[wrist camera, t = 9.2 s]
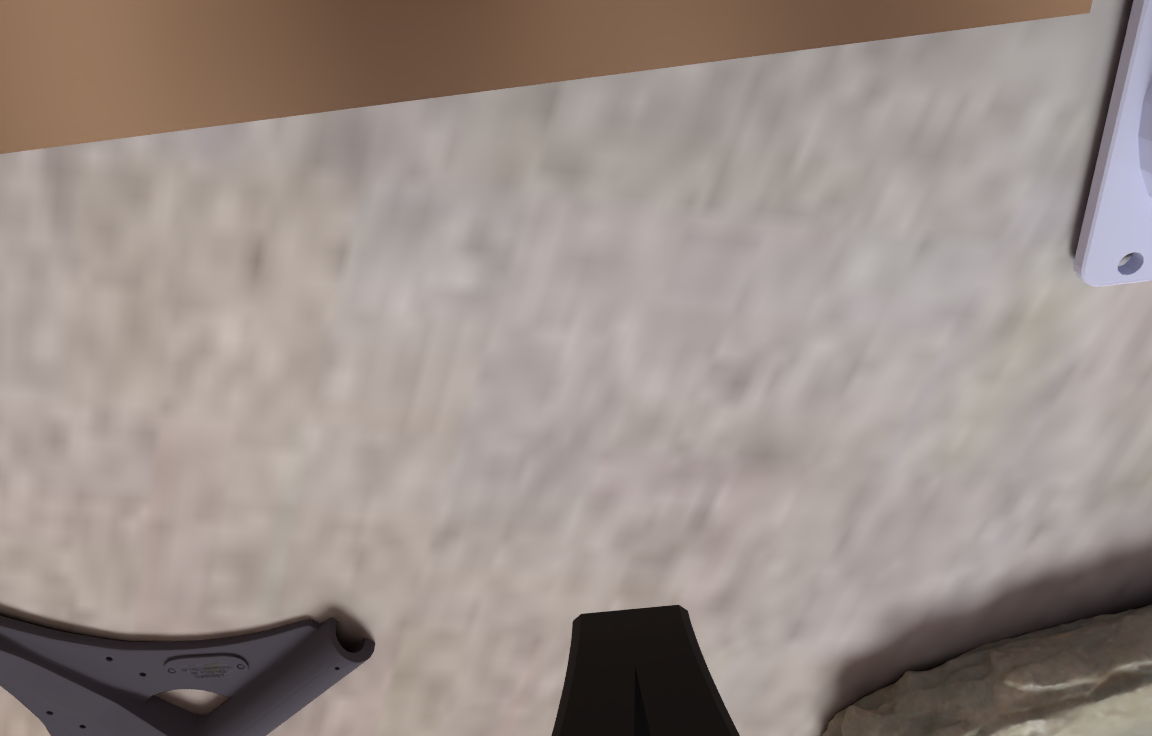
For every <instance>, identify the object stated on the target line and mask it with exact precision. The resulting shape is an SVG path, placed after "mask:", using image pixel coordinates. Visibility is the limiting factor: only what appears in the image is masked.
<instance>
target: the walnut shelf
mask: <svg viewBox="0 0 1152 736" xmlns="http://www.w3.org/2000/svg"><path fill="white" fill-rule="evenodd" d="M1091 4H1092V0H0V154H3V153H10V152H18V151H26V150H34V149H41V148H49V147H57V146H64V145H72V144H80V143H88V142H95V141H103V140H111V139H118V138H126V137H134V136H142V135H149V134H157V133H165V132H173V131H180V130H188V129H196V128H203V127H211V126H219V125H227V124H234V123H242V122H250V121H257V120H265V119H273V118H281V117H288V116H296V115H304V114H311V113H319V112H327V111H335V110H342V109H350V108H358V107H365V106H373V105H381V104H389V103H396V102H404V101H412V100H420V99H427V98H435V97H443V96H450V95H458V94H466V93H474V92H481V91H489V90H497V89H504V88H512V87H520V86H528V85H535V84H543V83H551V82H558V81H566V80H574V79H582V78H589V77H597V76H605V75H612V74H620V73H628V72H636V71H643V70H651V69H659V68H667V67H674V66H682V65H690V64H697V63H705V62H713V61H721V60H728V59H736V58H744V57H751V56H759V55H767V54H775V53H782V52H790V51H798V50H805V49H813V48H821V47H829V46H836V45H844V44H852V43H859V42H867V41H875V40H883V39H890V38H898V37H906V36H914V35H921V34H929V33H937V32H944V31H952V30H960V29H968V28H975V27H983V26H991V25H998V24H1006V23H1014V22H1022V21H1029V20H1037V19H1045V18H1052V17H1060V16H1068V15H1076V14H1083V13H1090V9H1091Z"/></svg>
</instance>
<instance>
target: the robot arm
mask: <svg viewBox="0 0 1152 736" xmlns="http://www.w3.org/2000/svg"><path fill="white" fill-rule="evenodd" d="M1130 253H1132V256H1131V258H1130V260H1129V261H1128V262H1126V263H1125V264H1124V265H1122V266H1119V267H1118V264H1119V262H1120V260H1121V259H1122V258H1123V257H1125V256H1126V255H1127V254H1130ZM1074 271H1075V273H1076V275H1077V276H1078V277H1079V278H1080V279H1081V280H1083V281H1084V282H1085V283H1087V284H1089V285H1091V286H1099V287H1101V286H1109V285H1118V284H1126V283H1135V282H1144V281H1152V0H1133V5H1132V9H1131V14H1130V18H1129V22H1128V27H1127V31H1126V36H1125V40H1124V44H1123V49H1122V53H1121V58H1120V62H1119V66H1118V71H1117V75H1116V79H1115V84H1114V88H1113V93H1112V97H1111V101H1110V106H1109V110H1108V115H1107V119H1106V123H1105V128H1104V132H1103V137H1102V141H1101V145H1100V150H1099V154H1098V159H1097V163H1096V167H1095V172H1094V176H1093V181H1092V185H1091V189H1090V194H1089V198H1088V202H1087V207H1086V211H1085V216H1084V220H1083V224H1082V229H1081V233H1080V238H1079V242H1078V246H1077V251H1076V255H1075V260H1074ZM552 736H740V735H739V733H738V731H737V729H736V727H735V725H734V723H733V721H732V719H731V717H730V715H729V713H728V711H727V709H726V707H725V705H724V703H723V701H722V698H721V696H720V694H719V692H718V690H717V688H716V685H715V683H714V681H713V679H712V677H711V674H710V672H709V670H708V667H707V665H706V662H705V660H704V658H703V655H702V653H701V650H700V647H699V645H698V642H697V639H696V636H695V633H694V631H693V628H692V624H691V621H690V618H689V614H688V611H687V610H686V609H684V608H683V607H681V606H680V605H672V606H661V607H650V608H640V609H629V610H619V611H608V612H597V613H587V614H581V615H579V616H578V617H577V618H576V619H575V620H574V621H573V627H572V639H571V647H570V654H569V660H568V666H567V672H566V677H565V682H564V687H563V691H562V696H561V700H560V704H559V709H558V713H557V717H556V721H555V725H554V729H553V732H552Z"/></svg>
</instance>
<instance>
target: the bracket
mask: <svg viewBox="0 0 1152 736" xmlns="http://www.w3.org/2000/svg"><path fill="white" fill-rule="evenodd" d="M337 623H338V622H337V621H336V620H335V619H334V618H332V617H331V618H330V619H328V620H327V621H326V622H324V623H323V624H319V623H317V622H316V621H314V620H311V619H308V620H304V621H300V622H297V623H293V624H290V625H286V626H282V627H279V628H275V629H271V630H267V631H262V632H258V633H253V634H248V635H242V636H236V637H229V638H221V639H211V640H198V641H176V642H126V641H118V640H111V639H105V638H98V637H92V636H85V635H78V634H73V633H68V632H63V631H58V630H53V629H49V628H45V627H41V626H37V625H33V624H29V623H25V622H22V621H18V620H14V619H11V618H7V617H3V616H0V686H2V687H3V688H4V689H5V690H7V691H8V692H9V693H10V694H12V695H13V696H14V697H15V698H16V699H18V700H19V701H20V702H21V703H22V704H23V705H24V706H25V707H27V708H28V709H29V710H30V711H31V712H32V713H33V714H34V715H36V716H37V717H38V718H39V719H40V720H41V721H42V723H43V724H44V725H45V727H46V728H47V730H48V732H49V733H50V735H51V736H266V735H267V734H269V733H270V732H271V731H273V730H274V729H275V728H277V727H278V726H279V725H281V724H282V723H283V722H285V721H286V720H287V719H289V718H290V717H291V716H293V715H294V714H295V713H297V712H298V711H299V710H301V709H302V708H303V707H305V706H306V705H307V704H309V703H310V702H311V701H313V700H314V699H315V698H317V697H318V696H319V695H321V694H322V693H323V692H325V691H326V690H327V689H329V688H330V687H331V686H333V685H334V684H335V683H337V682H338V681H339V680H341V679H342V678H343V677H345V676H346V675H347V674H349V673H350V672H351V671H353V670H354V669H355V668H357V667H358V666H360V665H361V664H362V663H364V662H365V661H366V660H368V659H369V658H370V657H371V655H372V653H373V652H374V647H375V642H373V641H371V640H369V639H366V638H364V639H362V640H361V641H360V642H358V643H357V644H356V645H354V646H353V647H352V648H350V649H349V650H348V651H346V650H345V649H343V648H342V647H341V645H340V644H339V642H338V640H337V637H336V633H335V628H336V625H337ZM176 689H197V690H205V691H209V692H214V693H217V694H221V695H224V696H227V697H230V698H229V699H228V700H226V701H225V702H224V703H223V704H221V705H220V706H219V707H217V708H216V709H215V710H213V711H212V712H210V713H209V714H207V715H204V716H201V715H197V714H195V713H192V712H189V711H187V710H185V709H182V708H180V707H178V706H176V705H173V704H171V703H169V702H167V701H165V700H163V699H161V698H159V697H157V696H155V694H158V693H161V692H165V691H169V690H176Z"/></svg>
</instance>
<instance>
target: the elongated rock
mask: <svg viewBox="0 0 1152 736" xmlns="http://www.w3.org/2000/svg"><path fill="white" fill-rule="evenodd" d="M823 736H1152V605H1148V606H1144V607H1141V608H1138V609H1129V610H1127V611H1124V612H1120V613H1117V614H1102V615H1098V616H1095V617H1092V618H1089V619H1080V620H1077V621H1074V622H1072V623H1068V624H1060V625H1058V626H1056V627H1050V628H1047V629H1043V630H1037V631H1033V632H1030V633H1028V634H1025V635H1021V636H1019V637H1015V638H1005V639H1002V640H999V641H997V642H994V643H986V644H983V645H981V646H980V647H978V648H975V649H973V650H971V651H967V652H965V653H964V654H962V655H960V656H958V657H956V658H955V659H952V660H949V661H947V662H945V663H944V664H942V665H939V666H938V667H935V668H933V669H931V670H927V671H906V672H905V673H904V675H903V676H902V677H901V678H900V679H899V680H898V681H897V682H896V683H895V684H891V685H889V686H887V687H885V688H882V689H879V690H876V691H875V692H874V693H872V694H870V695H867V696H865V697H863V698H862V699H861V700H859V701H857V702H855V703H854V704H853V705H850V706H848V707H847V708H845V709H843V710H842V711H840V712H837V713H836V714H835V716H834V718H833V719H832V720H830V721H829V724H828V727H827V730H826V731H825V732H824V733H823Z"/></svg>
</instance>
